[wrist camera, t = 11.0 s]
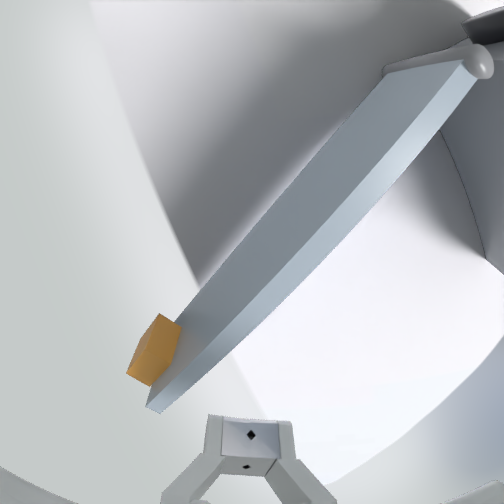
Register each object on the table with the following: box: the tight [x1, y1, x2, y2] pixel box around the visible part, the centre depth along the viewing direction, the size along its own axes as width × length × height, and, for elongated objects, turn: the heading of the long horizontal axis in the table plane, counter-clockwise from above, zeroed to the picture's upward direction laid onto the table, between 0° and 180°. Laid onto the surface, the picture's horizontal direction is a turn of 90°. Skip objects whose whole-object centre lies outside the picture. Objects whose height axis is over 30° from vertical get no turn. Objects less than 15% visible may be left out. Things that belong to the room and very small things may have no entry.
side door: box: [126, 44, 494, 414], centre depth 12 cm, size 20×2×7 cm, turn 142°
